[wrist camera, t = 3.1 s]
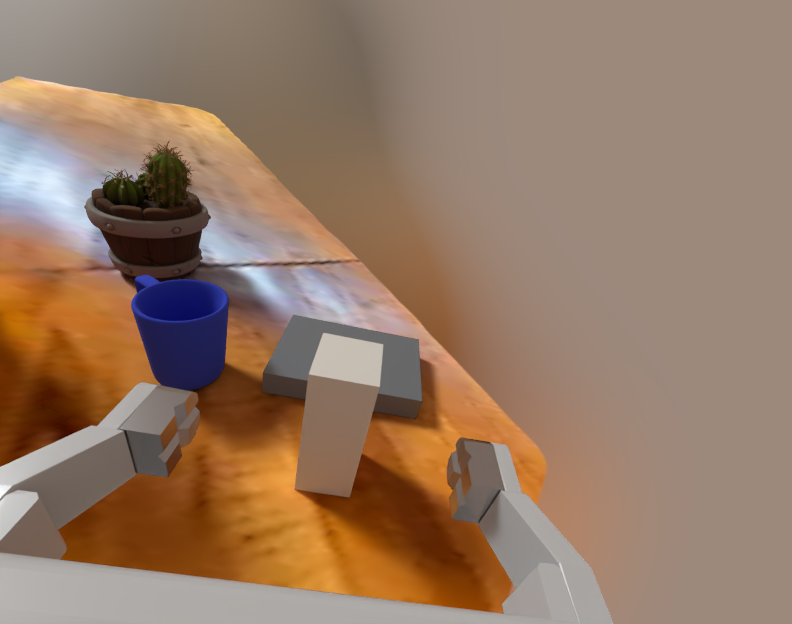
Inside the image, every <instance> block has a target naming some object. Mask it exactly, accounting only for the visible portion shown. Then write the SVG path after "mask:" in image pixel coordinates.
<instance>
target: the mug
mask: <svg viewBox="0 0 792 624" xmlns="http://www.w3.org/2000/svg"><path fill="white" fill-rule="evenodd" d="M135 285H136V289H137V294H136V295H135V296H134V298H133V300H132V304H131V306H132V310H133V313H134V316H135V320H136V323H137V326H138V329H139V332H140V335H141V338H142V341H143V344H144V347H145V350H146V353H147V357H148V360H149V363H150V366H151V369H152V372H153V374H154V376H155V378H156V379H157V381H158V382H159V383H160V384H162V385H163V386H166V387H171V388H176V389H181V390H186V391H189V390H195V389H199V388H202V387H204V386H207V385H208V384H210V383H212V382H213V381H214V380H216V379H217V378H218V376H219V375H220V374H221V372H222V370H223V367H224V364H225V352H226V337H227V321H228V306H229V298H228V295H227V293H226V292H225V291H224V290H223V289H221V288H220V287H218V286H216V285H214V284H212V283H209V282H205V281H199V280H189V279H181V280H170V281H164V282H159V281H158V280H156V279H155V278H153V277H151V276H149V275H142V276H139V277H136V278H135Z"/></svg>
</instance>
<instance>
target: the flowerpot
mask: <svg viewBox="0 0 792 624" xmlns="http://www.w3.org/2000/svg"><path fill="white" fill-rule="evenodd" d="M169 141H170V140H169ZM168 143H169V142H168ZM168 143H167V144H166V146H165V145H164V146H165V148H164V147H163V148H164V149H162V148H161V149H162V150H161V149H160V148H159V150H158V149H157V150H156V151H157V153H158V154H157V153H156V155H154V156H152V155H151V156H152V157H151V156H150V155H149V156H150V157H148V158H150V159H148V160H150V161H149V163H148V164H146V166H144V167H142V168H145V169H146V167H147V169H146V170H145V171H146V172H148V173H146V172H145V173H143V174H140V175H139V176H138V175H137V176H138V180H136V181H135V180H134V179H133V178H132V179H133V180H134V181H135V182H133V181H131V180H129V178H131V177H132V174H131V175H130V176H129V178H128V174H127V177H125V176H124V177H125V178H123V175H122V172H123V171H124V170H123V171H122V170H121V171H122V172H121V175H120V176H119V174H120V172H118V173H119V174H118V173H117V176H119V177H120V178H119V177H117V176H115V175H114V174H115V173H114V174H113V173H112V174H113V175H114V176H115V177H116V178H113V177H112V178H113V179H111V180H110V181H108V182H106V183H105V181H106V178H107V177H108V176H107V177H106V178H105V181H104V183H103V182H102V183H103V184H104V185H103V189H95V190H93V191H92V197H91V198H89V199H88V200H87V202H86V205H85V206H84V207H85V209H86V212H87V215H88V218H89V220H90V221H91V223H92V224H93V225H95V226H96V227H98V228H99V229H100V230H101V232H102V234H103V236H104V238H105V240H106V241H107V243H108V245H109V247H110V249H109V251H108V255H109V257H110V259H111V261H112V262H113V264H114V266H115V267H116V268H117V269H118V270H120V271H121V272H123V273H124V274H125V275H126V276H128V277H130V278H132V279H135V278H136V277H139V276H142V275H149V276H151V277H153V278H155V279H156V280H158V281H159V282H164V281H170V280H177V279H180V278H183V277H185V276H186V275H187V274H191V273H193V272H194V270H195V268H196V267H197V266H198V265H199V263H200V260H202V258H203V257H202V256H201V250H200V248H199V243H200V238H201V233H202V229H204V228H205V227H206V226H207V224H208V221H209V219H210V218H211V216H210V215H208V211H207V208H206V207H205V206H204V205H203V204H202V203H201V202H200V201H199V199H198V197H197V196H196V195H194V194H193V193H190V192H189V190H188V191H187V190H186V189H188V187H187V185H190V186H191V184H190V183H191V182H190V181H191V179H187V176H188V175H187V172H188V171H189V169H190V168H189V169H188V168H185V167H186V165H185V164H184V163H183V162H182V161H181V157H180V159H179V156H183V155H179V156H177V155H178V154H177V152H176V153H175V152H173V151H172V150H173V149H174V148H171V149H170V150H169V149H167V146H168ZM159 145H160V144H158V147H159ZM160 146H161V145H160ZM161 147H162V146H161ZM153 148H154V147H153ZM175 148H178V147H175ZM155 149H156V148H155ZM165 149H166V150H165ZM156 151H155V152H156ZM161 151H162V152H161ZM163 151H164V152H163ZM171 151H172V152H171ZM150 152H151V151H150ZM180 152H181V151H180ZM171 153H172V154H171ZM176 154H177V155H176ZM143 155H145V154H143ZM147 156H148V155H147ZM147 156H146V157H147ZM146 159H147V158H146ZM144 161H145V159H144ZM144 161H143V162H144ZM183 161H185V163H186V160H183ZM187 165H188V164H187ZM190 167H191V166H190ZM142 168H140V169H142ZM187 169H188V170H187ZM115 170H116V169H115ZM142 170H143V169H142ZM190 170H191V169H190ZM125 171H126V170H125ZM140 171H141V170H140ZM191 171H194V170H191ZM107 172H108V171H107ZM110 173H111V172H110ZM126 173H127V172H126ZM189 173H190V171H189ZM136 174H137V171H136ZM190 175H191V174H190ZM109 176H110V177H111V175H109ZM126 178H127V179H126ZM188 178H189V177H188ZM107 180H108V179H107ZM189 182H190V183H189ZM192 182H193V181H192ZM188 183H189V184H188ZM190 188H191V187H190Z"/></svg>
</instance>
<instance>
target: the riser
mask: <svg viewBox="0 0 792 624" xmlns="http://www.w3.org/2000/svg"><path fill="white" fill-rule="evenodd" d="M323 333H327V334H333V335H338V336H343V337H348V338H353V339H358V340H364V341H369V342H374V343H379V344H383V355H382V366H381V378H380V388H379V391H378V395H377V399H376V402H375V406H374V410H373V412H379V413H385V414H391V415H396V416H402V417H408V418H414V419H416V417H417V414H418V411H419V409H420V406H421V403H422V388H421V371H420V354H419V340H418V339H413V338H408V337H403V336H398V335H393V334H388V333H383V332H378V331H373V330H368V329H363V328H357V327H352V326H347V325H342V324H337V323H332V322H327V321H322V320H317V319H312V318H307V317H302V316H296V315H293V316H292V318H291V320H290V322H289V324H288V326H287V328H286V330H285V332H284V334H283V335H282V337H281V339H280V341H279V343H278V345H277V347H276V349H275V351H274V353H273V355H272V357H271V358H270V360H269V362H268V364H267V366H266V368H265V370H264V372H263V390H262V392H264V393H270V394H275V395H281V396H287V397H293V398H298V399H304V400H305V399H306V391H307V383H308V375H309V372H310V369H311V366H312V363H313V360H314V357H315V355H316V352H317V349H318V346H319V343H320V340H321V338H322V335H323Z"/></svg>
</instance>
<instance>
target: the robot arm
mask: <svg viewBox="0 0 792 624" xmlns="http://www.w3.org/2000/svg"><path fill="white" fill-rule="evenodd" d="M198 401H199V400H198V394H197V393H196V392H191V391H186V390H181V389H176V388H171V387H166V386H161V385H155V384H150V383H144V382H142V383H140V384H138V385H136V386H135V387H134V388H133V389H132V390H131V391H130V392H129V393H128V394H127V395H126V396H125V397H124V398H123V400H122V401H121V402H120V403H119V404H118V405H117V406H116V407H115V408H114V409H113V410H112V411H111V412H110V413H109V414H108V415H107V416H106V417H105V418H104V419H103V420H102V421H101V422H100V424H99V425H98V426H92V425H91V426H89V427H87V428H84V429H82V430H80V431H78V432H76V433H73V434H71V435H69V436H67V437H65V438H63V439H60V440H58V441H56V442H54V443H52V444H49V445H47V446H45V447H43V448H41V449H38V450H36V451H34V452H32V453H30V454H28V455H25V456H23V457H21V458H19V459H17V460H14V461H12V462H10V463H8V464H6V465H3V466H1V467H0V624H613V621H612V618H611V616H610V613H609V611H608V609H607V606H606V603H605V601H604V598H603V596H602V594H601V591H600V588H599V586H598V583H597V581H596V578H595V576H594V573H593V571H592V569H591V567H590V566H589V565H588V564H587V563H586V562H585V560H583V558H582V557H581V556H580V555H579V554H578V552H577V551H576V550H575V549H574V548H573V547H572V545H571V544H570V543H569V542H568V541H567V540H566V539H565V537H564V536H563V535H562V534H561V533H560V532H559V531H558V529H557V528H556V527H555V526H554V525H553V524H552V523H551V521H550V520H549V519H548V518H547V517H546V516H545V515H544V513H543V512H542V511H541V510H540V509H539V508H538V506H537V505H536V504H535V503H534V502H533V501H532V500H531V498H530V497H529V496H528V495H527V494H523V493H522V490H521V487H520V484H519V481H518V477H517V474H516V471H515V468H514V464H513V461H512V458H511V455H510V451H509V448H508V447H507V446H506V445H503V444H497V443H490V442H487V441H481V440H474V439H468V438H462V437H461V438H460V439H458V441H457V443H456V450H457V451H455V452H453V453H451V456H450V458H449V460H448V466H447V482H448V485H449V486H450V487H451V489H452V490H453V491H452V493H451V495H450V497H449V500H450V508H451V516H452V519H455V520H460V521H466V522H472V523H477V524H478V526H479V528H480V529H481V531H482V533H483V535H484V536H485V538H486V540H487V541H488V543H489V545H490V546H491V548H492V550H493V551H494V553H495V555H496V556H497V558H498V560H499V561H500V563H501V565H502V566H503V568H504V570H505V571H506V573H507V575H508V576H509V578H510V580H511V581H512V583H513V585H514V586H515V588H516V589H515V590H514V591H513V592H512V593H511V594H510V595H509V596H508V598H507V599H506V600H505V601H504V602H503V604H502V606H503V611H504V614H502V613H494V612H486V611H477V610H469V609H461V608H453V607H445V606H437V605H428V604H420V603H412V602H404V601H396V600H387V599H379V598H371V597H363V596H355V595H347V594H338V593H330V592H322V591H314V590H305V589H297V588H289V587H281V586H273V585H264V584H256V583H248V582H240V581H231V580H223V579H215V578H207V577H199V576H190V575H182V574H174V573H166V572H157V571H149V570H141V569H133V568H125V567H116V566H108V565H100V564H92V563H83V562H75V561H67V560H60V559H61V558H62V556H63V555H64V554H65V552H66V551H67V547H66V543H65V541H64V539H63V538H62V536H61V534H60V532H59V531H58V529H60V528H61V527H63V526H64V525H66V524H67V523H68V522H70V521H71V520H73V519H74V518H76V517H77V516H78V515H80V514H81V513H83V512H84V511H86V510H87V509H88V508H90V507H91V506H93V505H94V504H96V503H97V502H98V501H100V500H101V499H103V498H104V497H106V496H107V495H108V494H110V493H111V492H113V491H114V490H116V489H117V488H118V487H120V486H121V485H123V484H124V483H126V482H127V481H128V480H130V479H131V478H133V477H134V476H136V473H139V474H147V475H156V476H164V477H169V475H170V474H171V472H172V471H173V469H174V467H175V466H176V464H177V463H178V461H179V460H180V458H181V457H182V454H181V448H182V447H184V446H186V445H187V444H189V443H190V442H191V441H192V439H193V437H194V436H195V434H196V431H197V429H198V426H199V422H200V411H199V410H198V409H197V408H196V407H195V405H196V404H197V403H198Z"/></svg>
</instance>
